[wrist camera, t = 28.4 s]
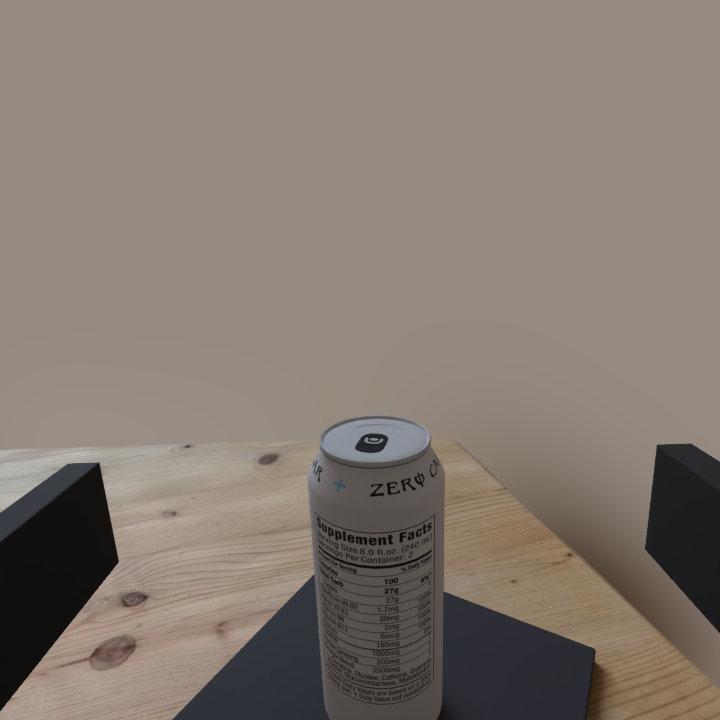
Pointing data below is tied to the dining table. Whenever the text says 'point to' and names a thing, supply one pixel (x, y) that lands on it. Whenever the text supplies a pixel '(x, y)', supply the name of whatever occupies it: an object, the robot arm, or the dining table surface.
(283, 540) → the dining table surface
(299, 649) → the rubber mat
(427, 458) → the energy drink can
